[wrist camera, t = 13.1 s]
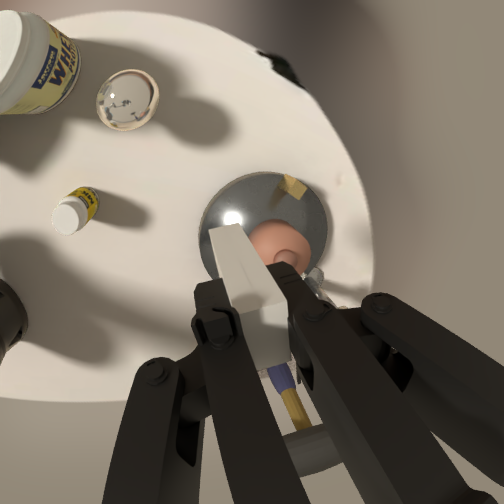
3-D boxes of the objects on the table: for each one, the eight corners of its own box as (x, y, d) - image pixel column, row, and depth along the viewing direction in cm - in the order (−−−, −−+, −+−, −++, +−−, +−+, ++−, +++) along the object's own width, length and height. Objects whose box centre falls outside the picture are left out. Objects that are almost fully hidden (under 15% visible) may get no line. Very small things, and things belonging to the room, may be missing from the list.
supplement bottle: (104, 194, 35) (87, 212, 27) (92, 222, 36) (75, 245, 28) (78, 180, 32) (55, 194, 25) (66, 208, 34) (44, 228, 26)
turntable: (174, 258, 41) (174, 279, 35) (249, 144, 37) (262, 148, 31) (273, 305, 50) (285, 327, 44) (341, 216, 45) (362, 229, 40)
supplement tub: (85, 99, 28) (27, 87, 13) (18, 125, 26) (-53, 136, 11) (84, 26, 22) (38, -19, 8) (17, 55, 20) (-46, 38, 5)
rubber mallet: (232, 353, 53) (277, 489, 27) (231, 325, 50) (283, 476, 24) (290, 342, 56) (354, 462, 30) (294, 315, 53) (371, 443, 27)
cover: (235, 253, 41) (245, 274, 35) (267, 208, 39) (282, 223, 33) (276, 275, 44) (290, 297, 39) (306, 235, 42) (325, 252, 37)
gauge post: (291, 297, 51) (329, 355, 37) (289, 270, 48) (331, 326, 35) (320, 288, 52) (363, 341, 38) (320, 261, 49) (368, 312, 35)
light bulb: (140, 72, 29) (124, 49, 18) (174, 103, 32) (172, 92, 21) (104, 109, 29) (74, 103, 19) (138, 140, 33) (120, 146, 22)
